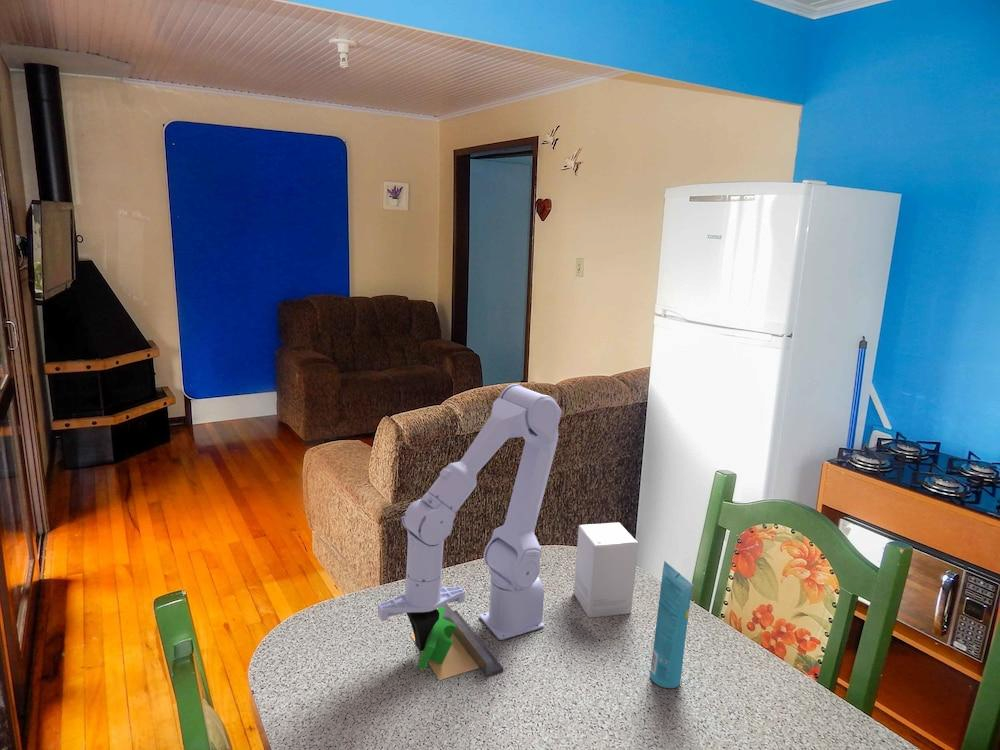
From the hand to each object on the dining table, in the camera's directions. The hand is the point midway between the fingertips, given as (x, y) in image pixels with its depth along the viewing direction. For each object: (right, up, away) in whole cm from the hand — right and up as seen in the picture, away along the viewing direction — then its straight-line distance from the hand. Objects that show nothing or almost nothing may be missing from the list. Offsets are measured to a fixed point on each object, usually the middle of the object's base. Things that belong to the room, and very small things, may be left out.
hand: (419, 647), depth 108 cm
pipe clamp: (+2, -1, +1) cm, 3 cm away
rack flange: (+5, -1, +3) cm, 6 cm away
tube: (+40, -5, -2) cm, 41 cm away
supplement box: (+33, 0, +19) cm, 38 cm away
